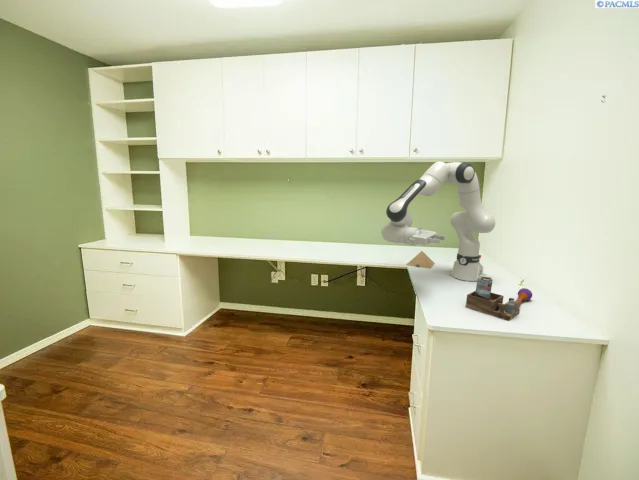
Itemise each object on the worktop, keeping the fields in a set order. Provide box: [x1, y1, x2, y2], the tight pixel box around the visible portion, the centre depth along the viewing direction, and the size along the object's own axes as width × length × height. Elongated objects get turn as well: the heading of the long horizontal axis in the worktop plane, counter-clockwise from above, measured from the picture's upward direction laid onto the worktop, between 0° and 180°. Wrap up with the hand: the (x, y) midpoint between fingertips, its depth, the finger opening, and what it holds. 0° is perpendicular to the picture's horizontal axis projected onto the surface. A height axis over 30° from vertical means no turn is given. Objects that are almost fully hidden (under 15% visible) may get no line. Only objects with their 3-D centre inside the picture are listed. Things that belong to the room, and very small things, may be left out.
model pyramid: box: [405, 250, 436, 270], centre depth 216 cm, size 17×17×10 cm
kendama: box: [515, 287, 533, 309], centre depth 150 cm, size 6×6×20 cm
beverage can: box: [475, 275, 493, 301], centre depth 142 cm, size 6×7×12 cm
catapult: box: [465, 290, 521, 322], centre depth 141 cm, size 12×18×6 cm, turn 41°
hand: (442, 239), depth 150 cm, fingers open, 8 cm apart
